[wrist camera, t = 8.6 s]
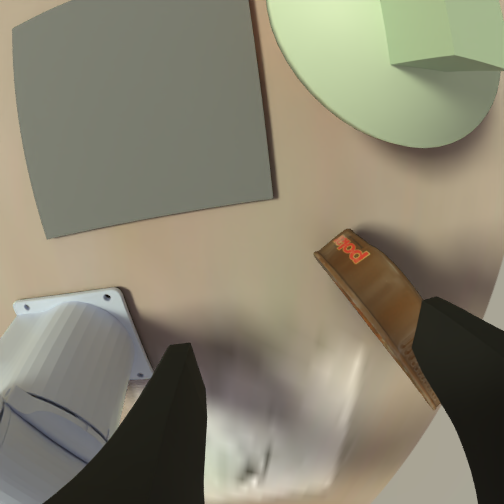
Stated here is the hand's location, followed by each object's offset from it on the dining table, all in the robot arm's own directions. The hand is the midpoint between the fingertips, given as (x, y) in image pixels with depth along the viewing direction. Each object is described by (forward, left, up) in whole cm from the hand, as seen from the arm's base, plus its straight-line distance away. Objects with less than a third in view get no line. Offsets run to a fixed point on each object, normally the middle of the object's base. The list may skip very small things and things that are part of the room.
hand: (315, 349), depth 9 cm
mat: (-6, +9, -10) cm, 15 cm away
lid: (+7, +11, -5) cm, 14 cm away
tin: (+7, -6, -11) cm, 14 cm away
